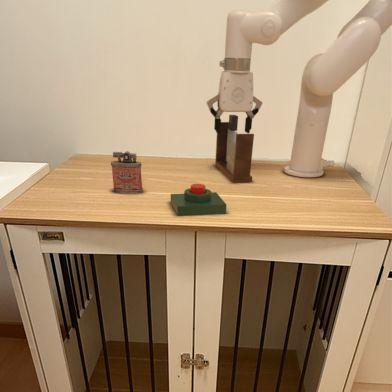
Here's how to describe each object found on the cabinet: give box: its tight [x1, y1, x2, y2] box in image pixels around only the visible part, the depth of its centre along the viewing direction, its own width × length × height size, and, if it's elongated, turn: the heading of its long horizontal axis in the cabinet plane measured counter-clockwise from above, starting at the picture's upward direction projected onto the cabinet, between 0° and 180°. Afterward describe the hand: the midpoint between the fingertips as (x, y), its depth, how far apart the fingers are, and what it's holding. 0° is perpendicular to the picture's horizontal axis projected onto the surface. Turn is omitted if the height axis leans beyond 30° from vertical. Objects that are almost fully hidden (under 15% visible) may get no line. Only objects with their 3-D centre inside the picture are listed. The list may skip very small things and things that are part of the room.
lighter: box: [110, 150, 144, 194], centre depth 109 cm, size 8×3×10 cm, turn 88°
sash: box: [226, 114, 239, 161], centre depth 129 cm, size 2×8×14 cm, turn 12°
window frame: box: [214, 121, 255, 184], centre depth 127 cm, size 6×22×13 cm, turn 12°
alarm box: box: [170, 187, 227, 217], centre depth 101 cm, size 12×10×4 cm
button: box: [190, 183, 206, 194], centre depth 100 cm, size 4×4×2 cm
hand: (232, 132), depth 128 cm, fingers open, 9 cm apart
